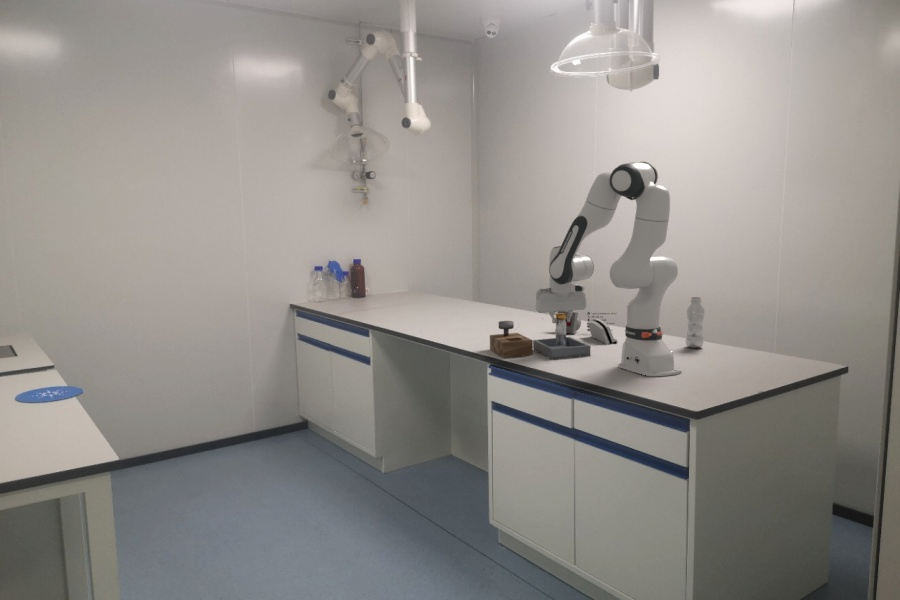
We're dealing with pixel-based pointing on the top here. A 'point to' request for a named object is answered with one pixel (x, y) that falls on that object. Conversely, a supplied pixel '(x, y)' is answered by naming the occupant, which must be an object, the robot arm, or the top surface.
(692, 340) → the plastic bottle
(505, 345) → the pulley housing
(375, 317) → the top surface
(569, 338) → the tray
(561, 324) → the gold-capped glass vial
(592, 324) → the black-striped white block
